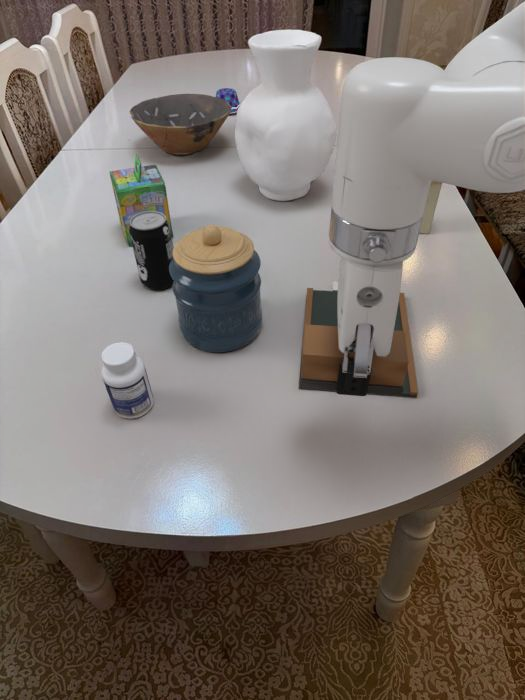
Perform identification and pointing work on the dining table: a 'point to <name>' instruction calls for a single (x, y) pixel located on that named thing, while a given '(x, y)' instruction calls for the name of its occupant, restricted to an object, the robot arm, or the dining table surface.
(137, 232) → the beverage can
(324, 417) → the dining table surface
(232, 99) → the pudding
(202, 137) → the bowl
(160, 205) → the chalk box
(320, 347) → the eraser
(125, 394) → the pill bottle
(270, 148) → the vase
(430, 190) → the cosmetic box
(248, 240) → the canister
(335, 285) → the chalk mark
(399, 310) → the board
